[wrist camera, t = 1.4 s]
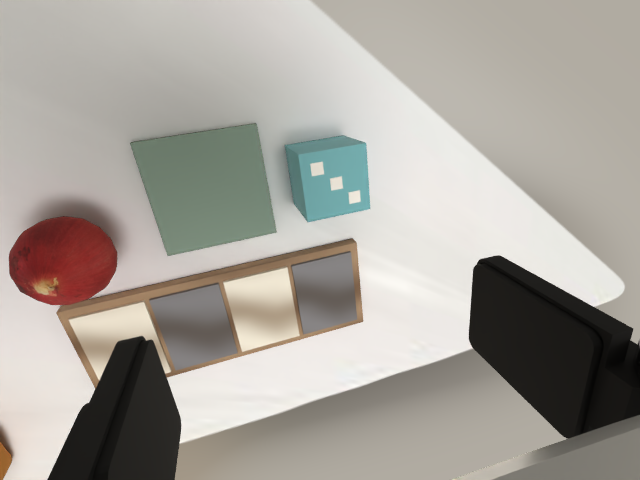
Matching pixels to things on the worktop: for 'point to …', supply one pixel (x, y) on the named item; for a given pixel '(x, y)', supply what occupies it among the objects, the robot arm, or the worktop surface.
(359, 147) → the die
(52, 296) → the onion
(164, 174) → the mat
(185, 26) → the worktop surface
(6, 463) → the coffee package
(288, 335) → the board
